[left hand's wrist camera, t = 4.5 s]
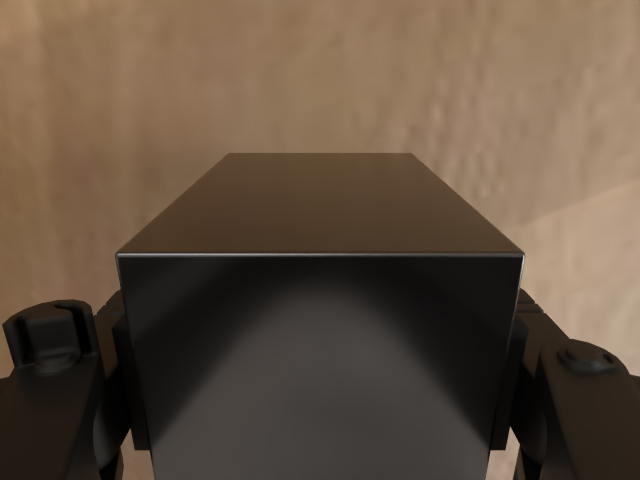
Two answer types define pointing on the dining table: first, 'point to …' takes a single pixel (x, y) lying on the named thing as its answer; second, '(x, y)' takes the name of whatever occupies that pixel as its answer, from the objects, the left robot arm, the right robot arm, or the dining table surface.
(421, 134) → the dining table surface
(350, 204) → the bar
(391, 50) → the dining table surface
